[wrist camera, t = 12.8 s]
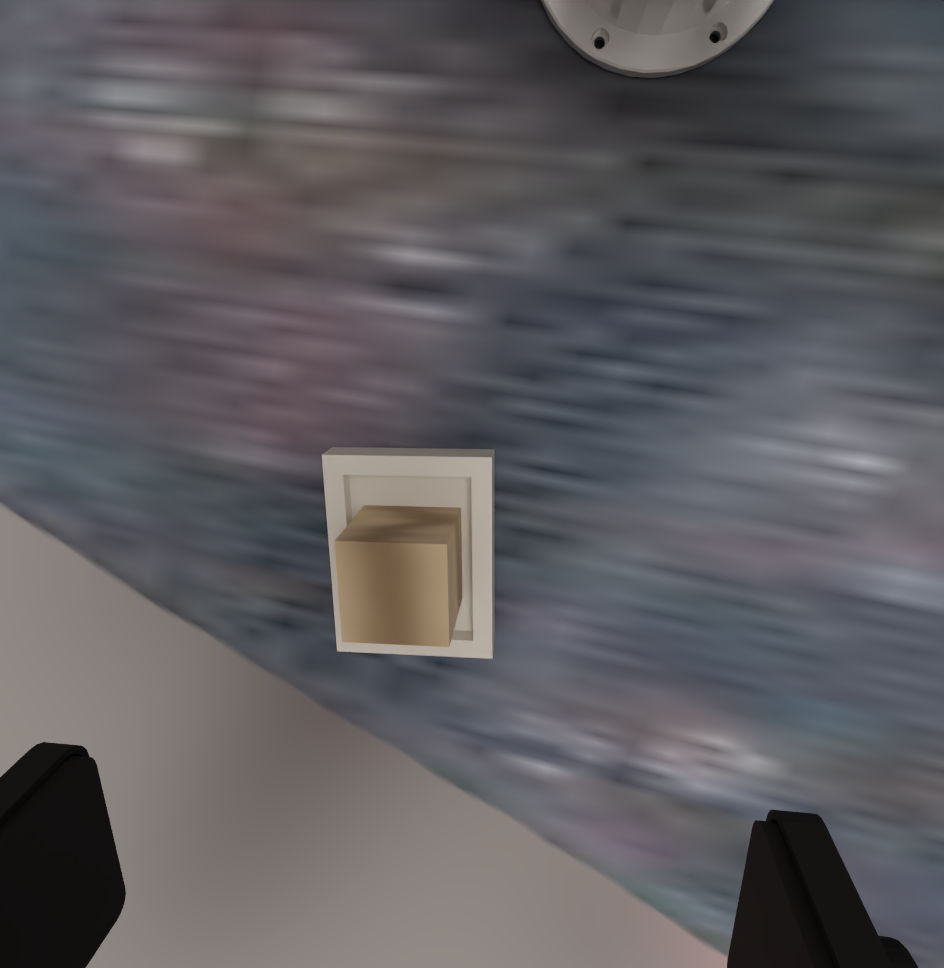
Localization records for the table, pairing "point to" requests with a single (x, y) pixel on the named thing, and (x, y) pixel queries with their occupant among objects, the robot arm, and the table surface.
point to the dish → (423, 484)
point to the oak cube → (400, 575)
